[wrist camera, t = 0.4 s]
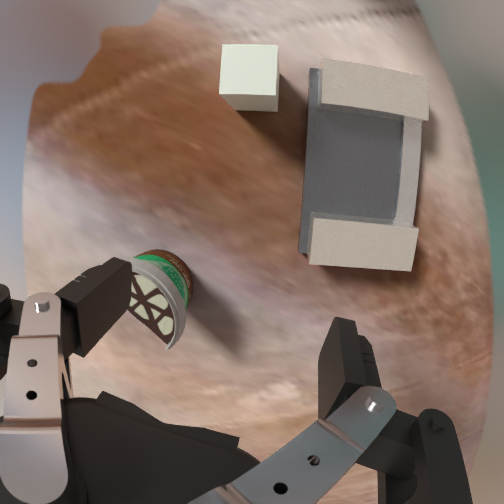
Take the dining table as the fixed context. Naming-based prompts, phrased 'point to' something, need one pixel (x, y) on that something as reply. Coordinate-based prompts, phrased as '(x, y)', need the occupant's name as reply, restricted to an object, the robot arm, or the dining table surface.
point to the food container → (160, 293)
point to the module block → (250, 76)
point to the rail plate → (362, 166)
